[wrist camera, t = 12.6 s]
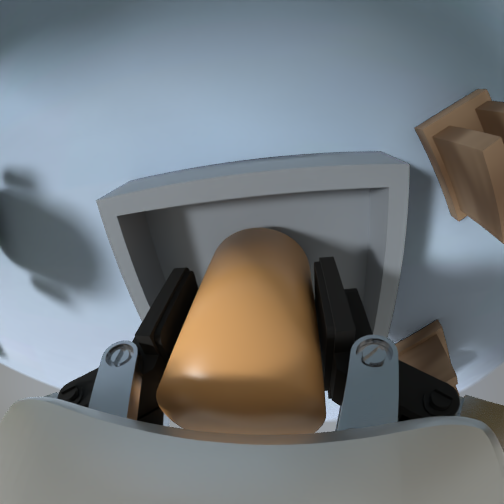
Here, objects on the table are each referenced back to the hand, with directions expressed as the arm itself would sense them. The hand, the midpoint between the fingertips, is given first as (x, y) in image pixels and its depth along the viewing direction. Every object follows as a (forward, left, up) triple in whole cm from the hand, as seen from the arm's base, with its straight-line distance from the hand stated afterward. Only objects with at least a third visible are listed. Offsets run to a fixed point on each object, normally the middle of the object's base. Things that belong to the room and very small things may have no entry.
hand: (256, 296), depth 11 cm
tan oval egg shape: (0, 0, -2) cm, 2 cm away
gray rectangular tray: (0, 0, -3) cm, 3 cm away
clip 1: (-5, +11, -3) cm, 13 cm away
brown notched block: (+9, +10, -3) cm, 14 cm away
